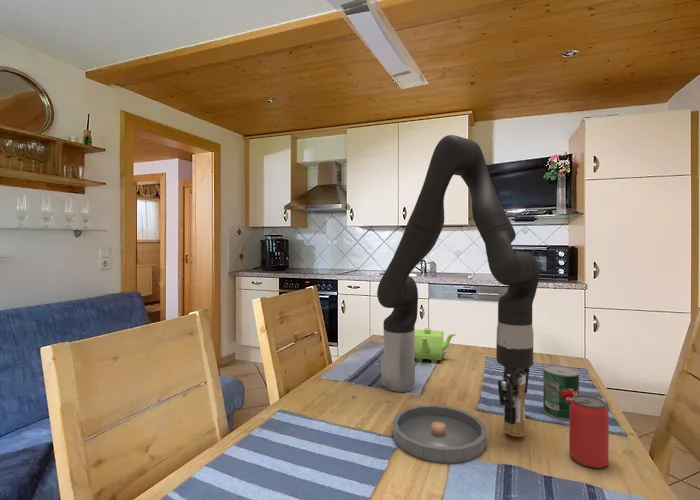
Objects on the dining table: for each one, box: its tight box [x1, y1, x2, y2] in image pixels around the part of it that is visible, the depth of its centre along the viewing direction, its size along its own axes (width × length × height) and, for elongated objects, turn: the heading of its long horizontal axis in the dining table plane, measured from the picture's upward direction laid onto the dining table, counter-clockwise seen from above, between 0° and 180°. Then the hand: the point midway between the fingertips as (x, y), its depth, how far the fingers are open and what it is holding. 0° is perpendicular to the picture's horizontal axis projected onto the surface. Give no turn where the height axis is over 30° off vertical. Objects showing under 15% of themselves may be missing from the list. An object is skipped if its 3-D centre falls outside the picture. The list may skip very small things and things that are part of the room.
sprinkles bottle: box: [502, 373, 526, 438], centre depth 85 cm, size 5×5×13 cm
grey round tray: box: [392, 404, 487, 464], centre depth 85 cm, size 20×20×3 cm
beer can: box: [568, 394, 610, 469], centre depth 76 cm, size 7×7×12 cm
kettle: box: [414, 328, 457, 364], centre depth 140 cm, size 15×14×11 cm
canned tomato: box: [542, 364, 580, 421], centre depth 96 cm, size 8×8×11 cm
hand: (513, 418), depth 85 cm, fingers closed on sprinkles bottle, 4 cm apart
